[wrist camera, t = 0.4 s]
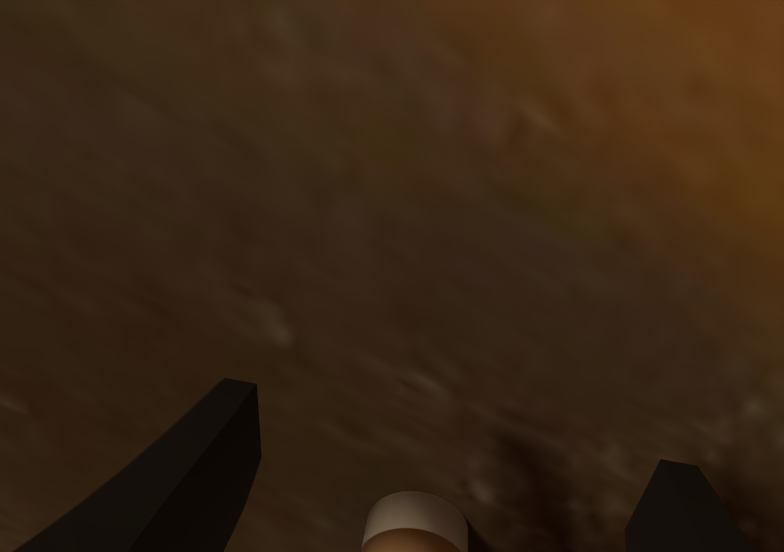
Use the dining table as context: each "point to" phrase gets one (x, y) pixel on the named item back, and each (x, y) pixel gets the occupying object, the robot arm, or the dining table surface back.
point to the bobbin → (415, 525)
